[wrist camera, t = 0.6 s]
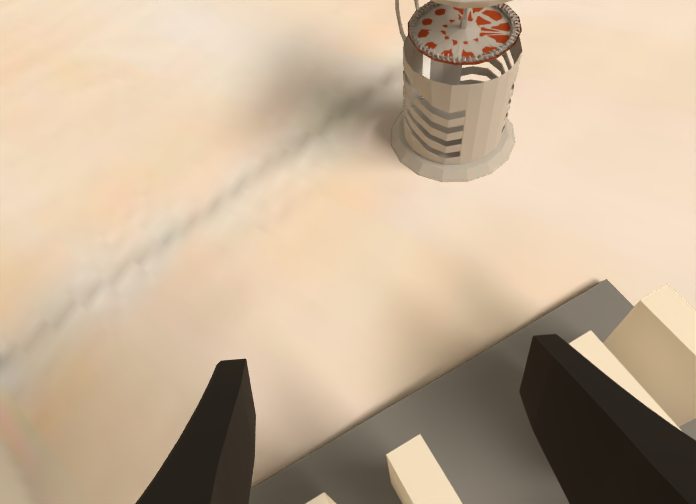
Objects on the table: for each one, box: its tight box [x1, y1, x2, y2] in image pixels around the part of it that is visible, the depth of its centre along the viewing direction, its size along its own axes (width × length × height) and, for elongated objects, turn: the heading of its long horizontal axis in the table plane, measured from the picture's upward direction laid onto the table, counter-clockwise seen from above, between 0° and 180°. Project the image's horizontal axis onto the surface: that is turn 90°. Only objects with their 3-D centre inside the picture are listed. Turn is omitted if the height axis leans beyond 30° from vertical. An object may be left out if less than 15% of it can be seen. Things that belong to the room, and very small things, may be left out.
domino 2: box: [603, 284, 696, 427], centre depth 25 cm, size 5×2×8 cm, turn 29°
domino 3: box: [569, 330, 682, 431], centre depth 24 cm, size 5×2×8 cm, turn 29°
